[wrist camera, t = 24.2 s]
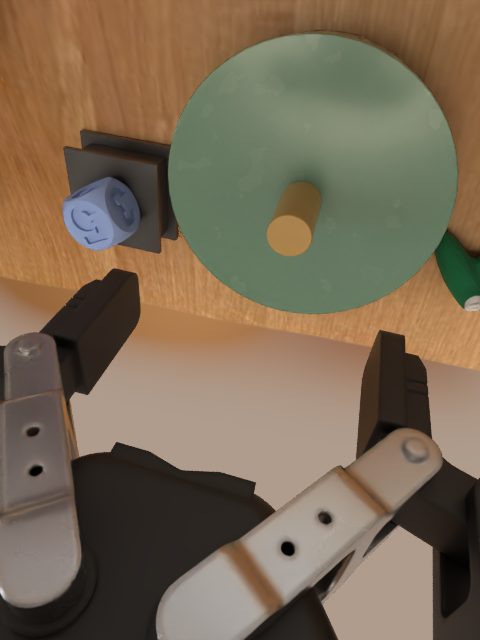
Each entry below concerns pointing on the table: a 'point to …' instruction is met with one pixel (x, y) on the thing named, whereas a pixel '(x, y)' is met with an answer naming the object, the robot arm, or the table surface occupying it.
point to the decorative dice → (101, 214)
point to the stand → (129, 180)
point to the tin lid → (313, 173)
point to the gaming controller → (459, 272)
